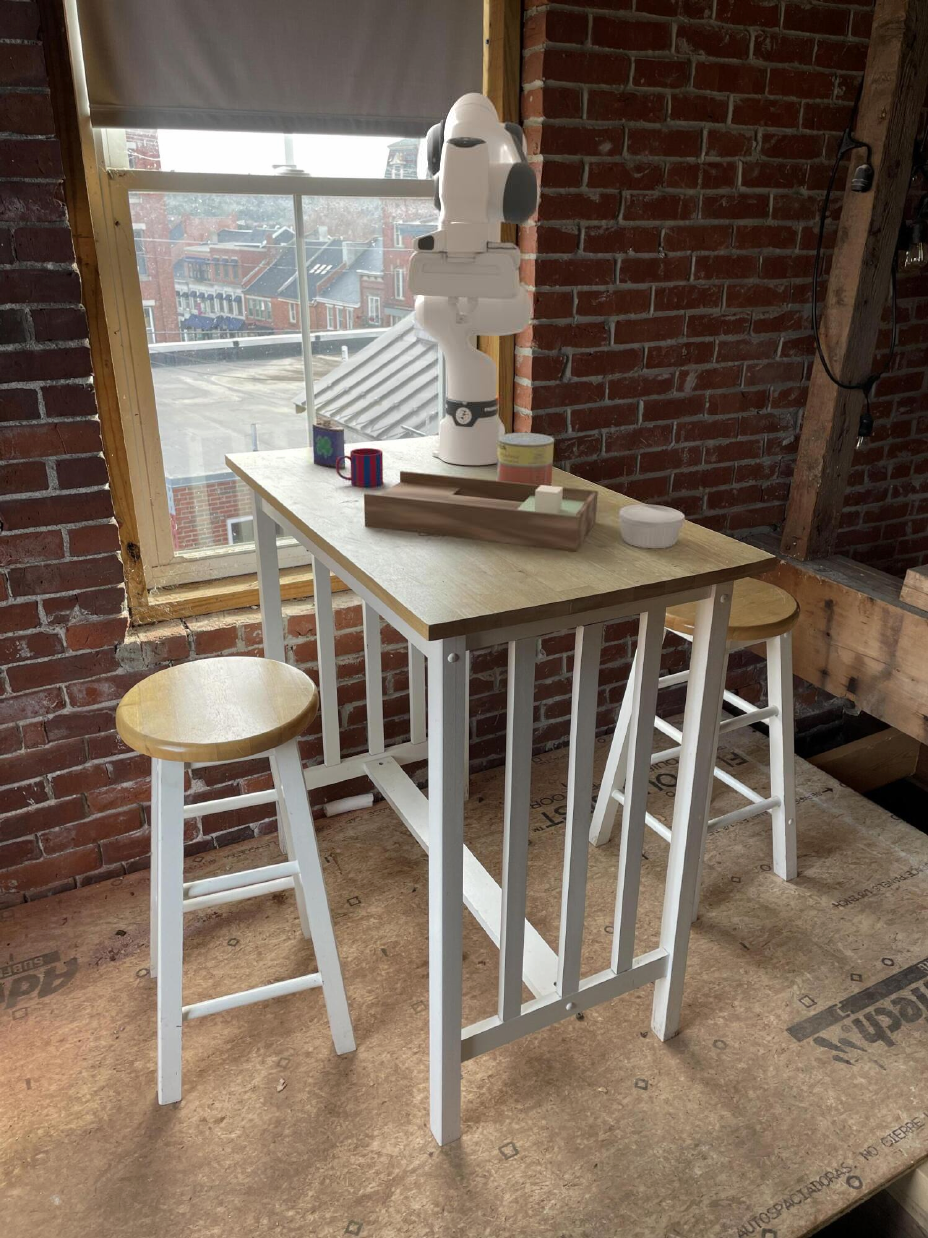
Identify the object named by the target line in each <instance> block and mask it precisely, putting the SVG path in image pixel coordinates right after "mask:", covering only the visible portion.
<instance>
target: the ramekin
mask: <svg viewBox="0 0 928 1238" xmlns="http://www.w3.org/2000/svg"><path fill="white" fill-rule="evenodd" d="M618 515H619V516H618V517H619V519H620V533H621V538H622V539H623V540H624V542H626V544H628V545H630V546H632V545H633V547H636V546H637V547H636V548H640V547H641V549H647V548H663V549H667V548H666V547H668V548H670V547H669V546H671V547H673V546H674V545H675V544H676V543H677V541H678V539H679V535H680V533H681V530H682V527H683V525H684V523H685V520H686V519H685V518H686V516H685V514H684V513H683V512H682V511H680V510H677V509H674V508H672V507H668V506H664V505H656V504H643V503H642V504H632V505H631V504H630V505H626V506H624V507H622V508H621V509H620V510H619V514H618ZM672 545H673V546H672Z"/></svg>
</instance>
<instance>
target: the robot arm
mask: <svg viewBox="0 0 928 1238" xmlns="http://www.w3.org/2000/svg"><path fill="white" fill-rule="evenodd" d="M527 154H528V144H527V139H526V137H525V134H524V131H523V129H522V127H521V125H519V124H517V123H514V122H510V121H509V122H508V121H504V122H500V119H499V115H498V112H497V110H496V108H495V105H494V104H493V103H492V101H491V100H490V99H489V97H487V96H485V95H484V94H481V93H478V92H469V93H465V94H464V95H462V96H460V98H458V99H457V100H456V102H455V103H454V104H453V106H452V107H451V109H450V111H449V113H448V115H447V118H446V121H445V120H444V119H442V120H440V123H437V124H435V125H433V126H432V127H430V129H428V131H427V133H426V137H425V140H424V143H423V158H424V161H425V162H424V163H425V164H426V166H427V171H429V173H430V174H431V175H432V176H434V178H433V179H434V180H433V182H434V183H433V184H434V199H433V205H434V207H435V209H436V210H437V211H439V213H440V215H439V218H438V229H437V230H434V231H431V232H429V233H426V234H424V235H421V236H418V237H415V238H414V239H413V240H412V245H411V246H412V250H413V251H414V253H412V255H411V256H410V258H409V263H408V269H407V290H408V292H409V293H410V294H411V296H417V298H416V300H415V303H414V304H415V306H414V312H415V318H416V320H417V322H418V324H419V325H420V327H421V328H422V330H424V331H425V332H426V333H427V334H429V335H430V336H431V337H432V338H433V339H434V341H435V342H436V343H437V344H438V346H439V348H440V350H441V351H442V355H443V357H444V360H445V366H446V374H447V375H446V377H447V397H445V404H444V405H445V406H444V407H445V414H446V415H445V416H444V418H442V420H441V421H440V422H439V428H438V429H439V431H438V432H439V433H438V443H437V444H438V446H437V447H438V448H437V449H435V450H433V451H432V457H435V458H439V460H441V461H443V462H445V463H449V464H454V465H463V466H485V465H486V466H487V465H493V464H497V454H498V437H499V436H500V435H503V434H506V428H505V424H503V422H502V420H501V418H500V416H499V415H498V413H499V405H500V397H499V396H497V373H498V372H497V364H496V362H495V361H494V360H493V358H492V357H491V356H489V355H488V354H487V353H484V352H483V351H480V350H479V349H477V348H476V347H474V346H473V345H472V344H471V342H470V338H471V336H472V337H473V336H494V337H495V336H498V337H499V336H500V337H501V336H509V335H513V334H519V333H522V332H523V331H524V330H525V329H527V326H528V325H529V323H530V321H531V319H532V316H533V315H532V314H533V303H532V299H531V297H530V295H529V293H528V292H527V290H526V289H525V288H524V287H523V286H522V285H521V284H520V269H519V268H520V266H521V263H522V261H521V260H522V252H521V250H520V248H519V247H518V246H517V245H516V244H514V243H513V242H509V241H507V242H501V223H509V224H515V225H516V224H517V225H523V224H524V223H526V222H527V221H528V220H529V219H531V217H532V216H533V215H534V214H535V213H536V210H537V207H538V206H539V205H538V204H539V201H540V200H539V198H540V187H539V186H540V185H539V184H540V183H539V180H538V177H537V173H536V171H535V169H534V168H533V167H532V166H531V164H529V161H528V160H527Z"/></svg>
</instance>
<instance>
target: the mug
mask: <svg viewBox="0 0 928 1238" xmlns="http://www.w3.org/2000/svg"><path fill="white" fill-rule="evenodd" d="M349 452H350V453H349V455H345V456H340V457H339V458H338V459H337V461H336V468H335V471H336V474H337V475H338V476H339V477H340V478H342V479H343V480H346V481H349V482H350V483H351V485H352V486H354V487H356V488H376V487H380V486H382V485H383V484H384V472H383V471H384V465H383V463H384V462H383V460H384V457H383V451H382V450H381V449H378V448H372V447H371V448H369V447H366V448H365V447H363V448H361V447H360V448H355V449H352V450H350V451H349ZM342 458H345V459H347V460H349V461H350V477H347V476H345V475H343V474H341V472H340V469H339V467H338V466H339V462H340V460H341V459H342Z"/></svg>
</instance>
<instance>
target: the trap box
mask: <svg viewBox="0 0 928 1238" xmlns="http://www.w3.org/2000/svg"><path fill="white" fill-rule="evenodd" d="M540 486H541V485H536V484H526V483H516V482H506V481H497V479H494V480H493V479H486V478H485V479H484V478H474V477H468V476H467V477H466V476H465V477H464V476H456V475H443V474H436V473H426V472H416V471H407V470H400V471H399V482H397V483H395V484H394V485H393V486H391V487H390V488H388V489H387V490H385V491H384V492H382V493H369V492H365V493H363V502H364V503H363V504H364V505H363V506H364V507H363V508H364V510H363V511H364V513H363V514H364V527H369V528H377V529H378V528H379V529H388V530H394V531H395V530H396V531H401V532H410V533H419V534H428V535H435V536H436V535H437V536H444V537H445V536H446V537H453V538H459V539H460V538H462V539H468V540H478V541H483V542H484V541H485V542H493V543H501V544H509V545H510V544H512V545H519V546H528V547H535V548H536V547H537V548H545V549H550V550H560V551H568V552H574V553H575V552H577V551H578V549H579V547H580V546H581V545H582V543H583V541H584V540H585V538H586V537H587V536H588V534H589V532H590V531H591V529H592V528H593V527H594V525H595V523H596V519H597V510H598V509H597V506H598V495H599V491H598V490H593V489H592V490H591V489H584V488H583V489H582V488H575V487H574V488H573V487H565V486H564V487H563V494H562V509H561V510H560V511H559V513H558V514H553V513H544V512H535V511H534V509H535V491H536V490H537V489H538V488H539V487H540ZM545 486H546V485H545ZM555 487H557V486H555Z"/></svg>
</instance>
